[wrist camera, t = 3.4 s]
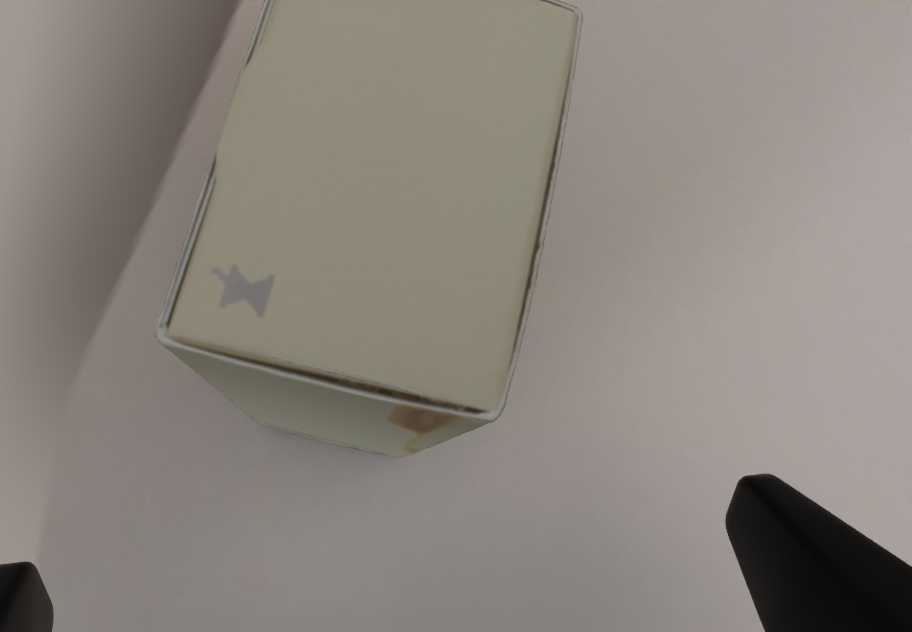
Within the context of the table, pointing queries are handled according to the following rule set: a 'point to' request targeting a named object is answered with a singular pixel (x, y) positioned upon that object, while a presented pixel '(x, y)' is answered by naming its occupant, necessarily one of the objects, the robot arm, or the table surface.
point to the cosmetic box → (377, 216)
